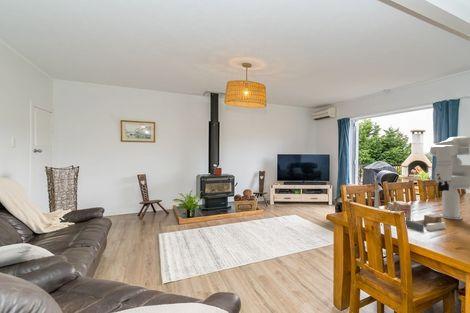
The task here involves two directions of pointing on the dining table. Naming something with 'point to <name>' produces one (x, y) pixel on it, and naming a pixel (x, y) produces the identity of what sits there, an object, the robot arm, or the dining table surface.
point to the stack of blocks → (400, 208)
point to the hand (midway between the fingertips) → (443, 190)
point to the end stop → (415, 225)
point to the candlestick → (376, 195)
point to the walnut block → (432, 219)
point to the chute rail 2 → (435, 226)
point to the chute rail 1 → (419, 221)
